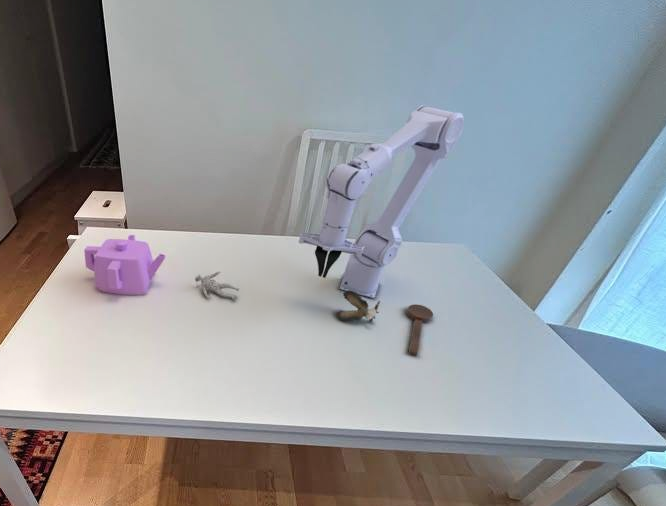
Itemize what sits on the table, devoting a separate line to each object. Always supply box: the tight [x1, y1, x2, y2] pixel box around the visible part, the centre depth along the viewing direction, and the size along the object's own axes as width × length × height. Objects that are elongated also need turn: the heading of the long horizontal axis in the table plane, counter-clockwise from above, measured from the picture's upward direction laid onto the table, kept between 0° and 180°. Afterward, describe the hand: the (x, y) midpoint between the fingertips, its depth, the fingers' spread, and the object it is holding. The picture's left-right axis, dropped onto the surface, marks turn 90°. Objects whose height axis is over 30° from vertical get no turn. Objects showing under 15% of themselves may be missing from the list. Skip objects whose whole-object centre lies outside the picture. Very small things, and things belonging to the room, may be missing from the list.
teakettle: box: [83, 234, 167, 296], centre depth 104 cm, size 17×17×12 cm
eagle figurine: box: [335, 290, 381, 323], centre depth 96 cm, size 8×7×9 cm
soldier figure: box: [194, 271, 240, 300], centre depth 104 cm, size 8×5×12 cm
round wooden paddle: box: [405, 303, 434, 357], centre depth 95 cm, size 20×6×1 cm, turn 153°
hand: (322, 275), depth 96 cm, fingers closed
